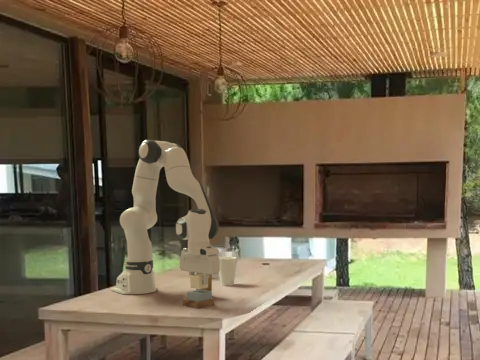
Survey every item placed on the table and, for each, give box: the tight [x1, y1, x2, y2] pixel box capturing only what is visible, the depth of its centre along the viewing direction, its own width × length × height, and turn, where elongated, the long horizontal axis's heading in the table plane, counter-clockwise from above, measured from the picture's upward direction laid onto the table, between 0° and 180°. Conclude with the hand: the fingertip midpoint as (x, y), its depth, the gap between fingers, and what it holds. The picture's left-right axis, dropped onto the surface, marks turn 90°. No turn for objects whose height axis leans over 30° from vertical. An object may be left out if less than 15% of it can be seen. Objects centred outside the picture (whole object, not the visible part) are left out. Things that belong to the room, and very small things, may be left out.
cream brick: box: [189, 273, 208, 290], centre depth 226 cm, size 5×5×5 cm
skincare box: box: [195, 272, 213, 291], centre depth 243 cm, size 6×4×12 cm
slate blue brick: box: [186, 289, 213, 302], centre depth 226 cm, size 7×7×3 cm
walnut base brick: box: [182, 297, 215, 309], centre depth 226 cm, size 9×9×3 cm
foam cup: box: [218, 256, 238, 287], centre depth 272 cm, size 10×9×13 cm
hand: (199, 283), depth 226 cm, fingers closed on cream brick, 5 cm apart
